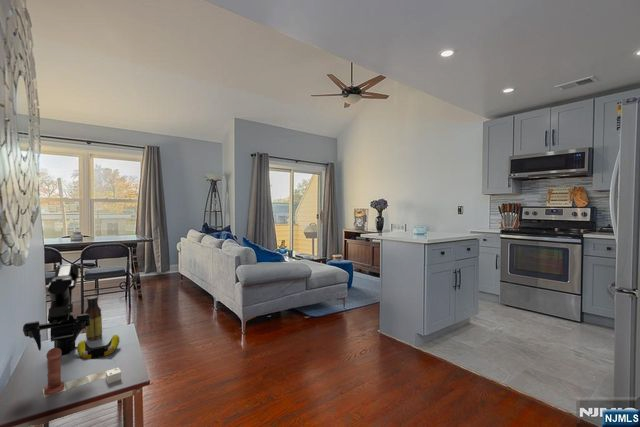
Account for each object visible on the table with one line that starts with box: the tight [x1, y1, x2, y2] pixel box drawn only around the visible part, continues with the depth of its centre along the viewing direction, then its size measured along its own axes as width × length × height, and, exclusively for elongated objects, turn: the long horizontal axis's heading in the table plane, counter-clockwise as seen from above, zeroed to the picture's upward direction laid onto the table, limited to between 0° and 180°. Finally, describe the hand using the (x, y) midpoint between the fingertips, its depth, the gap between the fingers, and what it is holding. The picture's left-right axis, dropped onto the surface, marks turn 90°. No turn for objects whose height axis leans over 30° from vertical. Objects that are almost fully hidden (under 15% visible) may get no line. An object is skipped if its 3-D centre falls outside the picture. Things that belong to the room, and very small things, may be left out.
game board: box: [42, 370, 106, 398], centre depth 110 cm, size 19×12×1 cm, turn 135°
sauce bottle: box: [84, 295, 103, 341], centre depth 144 cm, size 6×6×20 cm
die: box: [105, 367, 122, 385], centre depth 111 cm, size 4×4×4 cm
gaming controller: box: [76, 334, 120, 360], centre depth 131 cm, size 15×6×10 cm
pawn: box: [43, 347, 65, 396], centre depth 103 cm, size 5×5×15 cm
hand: (56, 346), depth 109 cm, fingers open, 9 cm apart
